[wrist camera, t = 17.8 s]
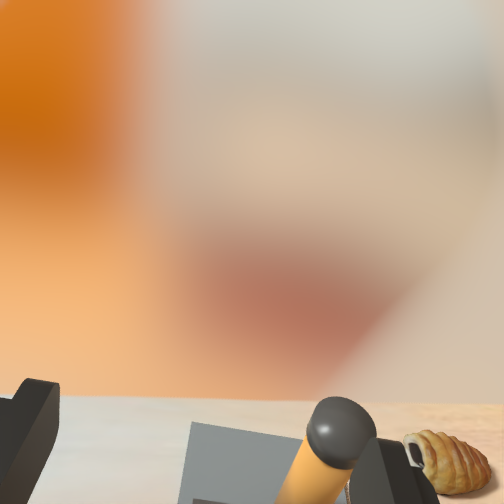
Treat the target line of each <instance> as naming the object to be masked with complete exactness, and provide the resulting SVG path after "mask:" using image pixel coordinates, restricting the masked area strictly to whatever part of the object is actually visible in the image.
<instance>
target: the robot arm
mask: <svg viewBox="0 0 504 504" xmlns="http://www.w3.org/2000/svg"><path fill="white" fill-rule="evenodd" d="M59 403H60V387H59V383H54V382H49V381H43V380H36V379H30V378H27V379H25V380H24V381H23V382H22V384H21V385H20V387H19V389H18V390H17V392H16V393H15V395H14V397H13V398H12V399H6V398H0V504H27V502H28V500H29V498H30V496H31V494H32V492H33V489H34V487H35V485H36V483H37V481H38V479H39V477H40V474H41V472H42V470H43V468H44V466H45V464H46V461H47V459H48V457H49V455H50V453H51V451H52V448H53V446H54V443H55V440H56V437H57V433H58V428H59ZM349 495H350V502H351V504H440V503H439V500H438V497H437V494H436V491H435V489H434V487H433V485H432V484H431V482H430V481H429V480H428V478H427V477H426V475H425V474H424V473H423V471H422V470H421V468H420V467H416V466H411V465H410V462H409V459H408V456H407V453H406V450H405V447H404V445H403V444H402V443H401V442H399V441H393V440H387V439H381V438H375V437H372V438H370V439H369V441H368V442H367V444H366V446H365V448H364V450H363V452H362V454H361V455H360V457H359V459H358V461H357V463H356V465H355V467H354V469H353V471H352V473H351V476H350V483H349Z"/></svg>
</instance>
